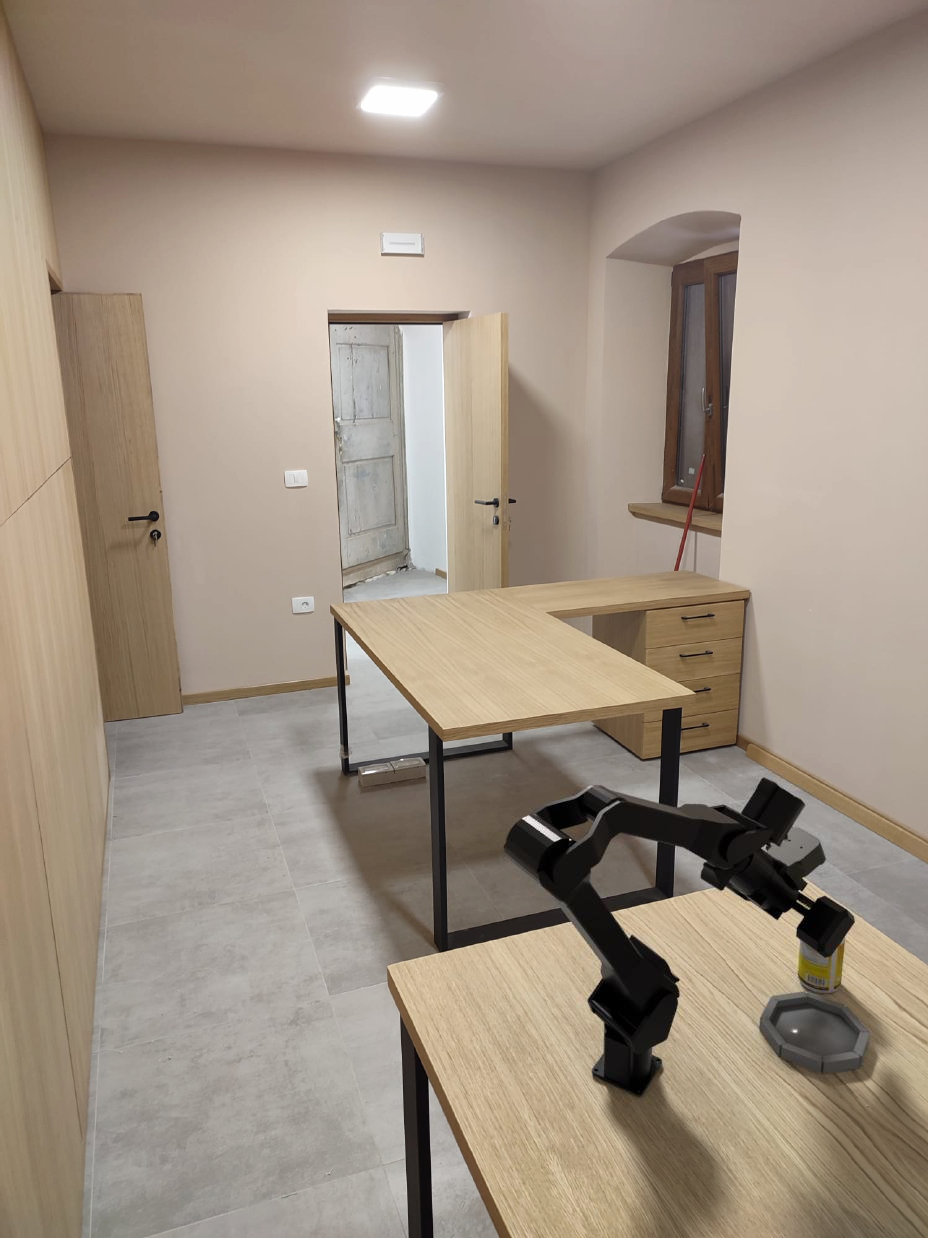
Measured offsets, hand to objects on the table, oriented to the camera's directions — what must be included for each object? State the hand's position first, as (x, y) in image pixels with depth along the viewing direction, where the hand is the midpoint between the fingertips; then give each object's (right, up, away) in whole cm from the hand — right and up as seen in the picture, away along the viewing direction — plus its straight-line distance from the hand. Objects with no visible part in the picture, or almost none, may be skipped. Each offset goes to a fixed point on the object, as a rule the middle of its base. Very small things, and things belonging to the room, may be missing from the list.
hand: (811, 924), depth 115 cm
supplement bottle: (+2, -9, +3) cm, 10 cm away
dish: (-2, -12, -7) cm, 14 cm away
